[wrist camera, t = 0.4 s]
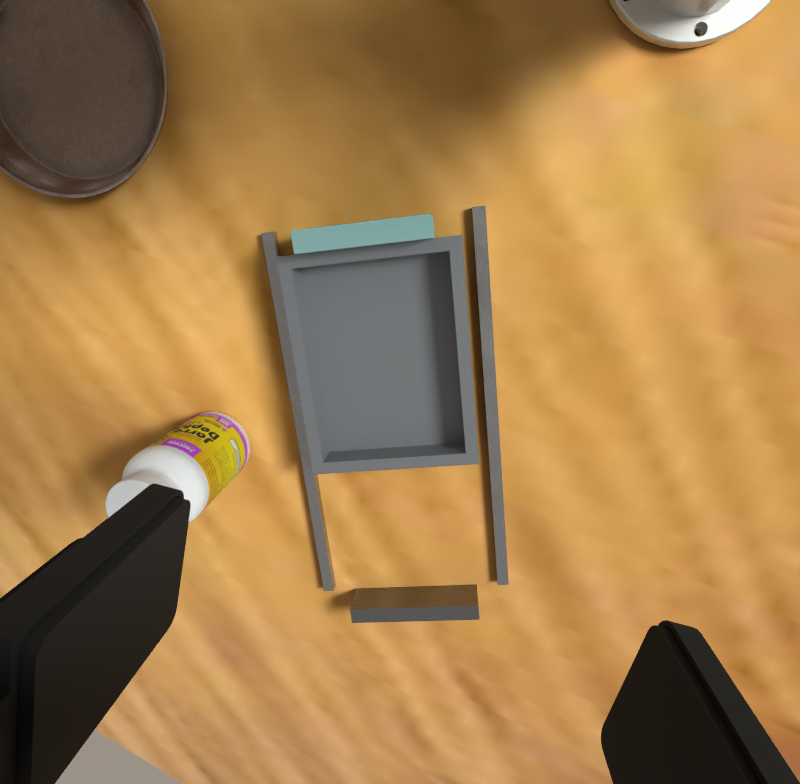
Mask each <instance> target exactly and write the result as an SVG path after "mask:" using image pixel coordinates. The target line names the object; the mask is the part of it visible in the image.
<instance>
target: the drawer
mask: <svg viewBox="0 0 800 784" xmlns="http://www.w3.org/2000/svg"><path fill="white" fill-rule="evenodd" d="M290 232H291V238H292V245H293V251H294V254H295V255H287V256H278V257H276V258H277V264H278V270H279V276H280V282H281V287H282V293H283V299H284V305H285V311H286V317H287V323H288V329H289V335H290V340H291V346H292V352H293V358H294V364H295V370H296V376H297V382H298V388H299V393H300V399H301V405H302V411H303V417H304V423H305V429H306V435H307V441H308V446H309V452H310V458H311V464H312V470H313V474H326V473H342V472H358V471H374V470H390V469H406V468H422V467H438V466H454V465H470V464H479V456H478V443H477V429H476V415H475V402H474V388H473V375H472V361H471V348H470V334H469V321H468V307H467V294H466V280H465V267H464V253H463V239H462V235H458V236H449V237H441V238H436V237H435V226H434V217H433V215H432V213H430V214H422V215H414V216H406V217H398V218H390V219H382V220H373V221H365V222H357V223H349V224H341V225H333V226H325V227H316V228H308V229H300V230H292V231H290Z"/></svg>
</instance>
